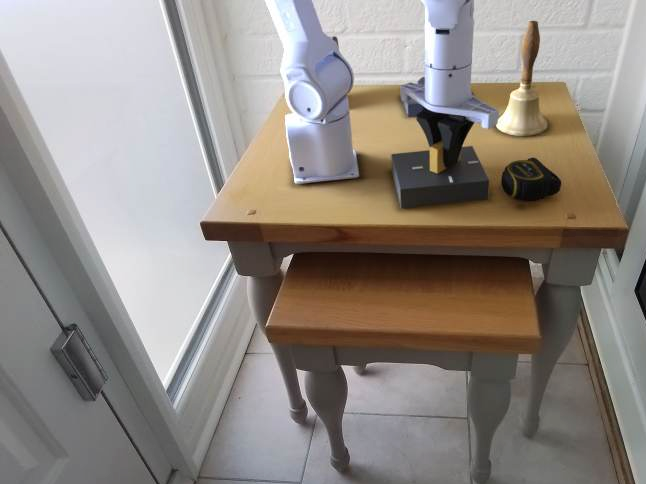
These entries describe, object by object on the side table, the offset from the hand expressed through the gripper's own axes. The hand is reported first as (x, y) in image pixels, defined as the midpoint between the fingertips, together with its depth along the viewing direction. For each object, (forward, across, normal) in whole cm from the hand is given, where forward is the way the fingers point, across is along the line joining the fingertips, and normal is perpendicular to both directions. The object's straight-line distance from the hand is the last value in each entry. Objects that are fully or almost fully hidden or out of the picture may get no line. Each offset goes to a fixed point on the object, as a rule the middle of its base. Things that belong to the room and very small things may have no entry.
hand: (445, 162), depth 74 cm
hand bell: (+4, +2, -22) cm, 23 cm away
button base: (+3, +19, -21) cm, 28 cm away
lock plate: (+3, +1, +1) cm, 4 cm away
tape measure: (+4, -10, -6) cm, 12 cm away
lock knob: (0, 0, 0) cm, 0 cm away
